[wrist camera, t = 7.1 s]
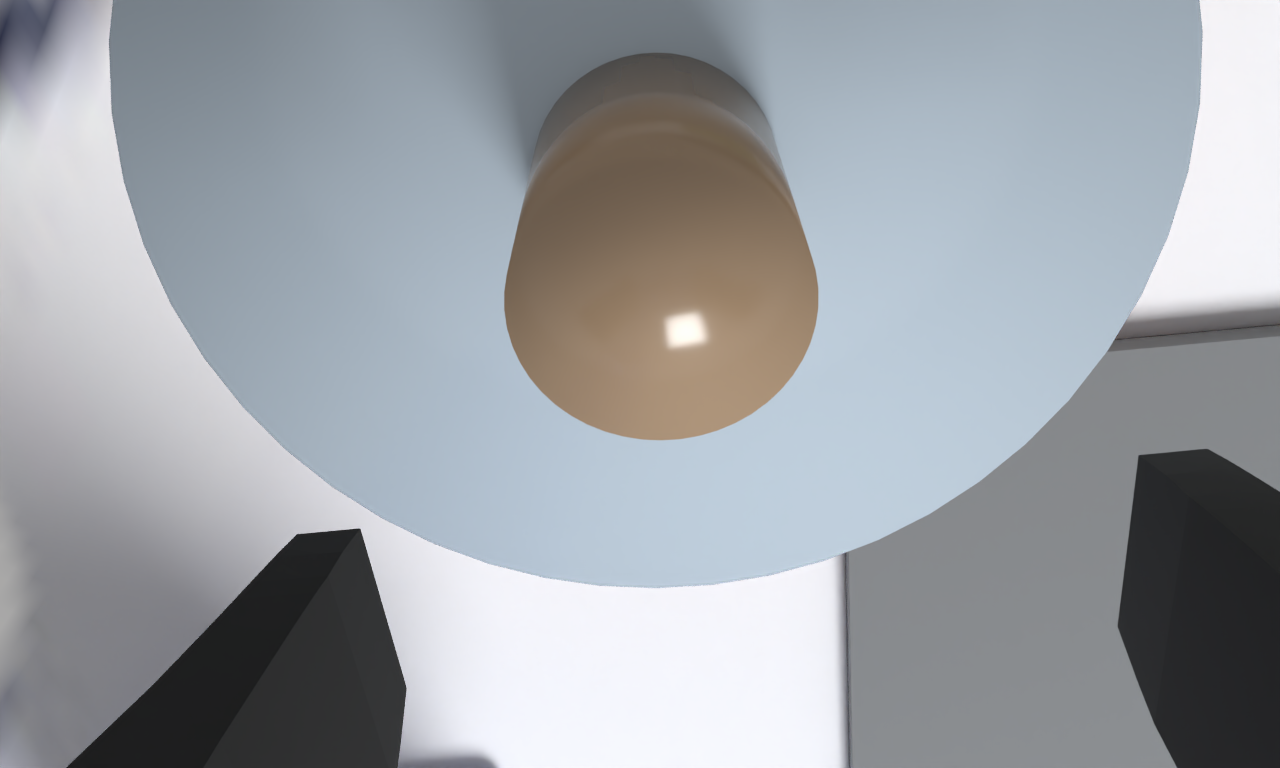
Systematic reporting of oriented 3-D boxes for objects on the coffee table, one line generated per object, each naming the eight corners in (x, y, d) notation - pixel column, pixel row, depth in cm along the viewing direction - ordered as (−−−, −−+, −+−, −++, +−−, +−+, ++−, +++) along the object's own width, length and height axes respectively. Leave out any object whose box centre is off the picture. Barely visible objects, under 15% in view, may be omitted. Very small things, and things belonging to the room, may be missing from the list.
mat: (851, 857, 29) (854, 870, 28) (842, 364, 22) (846, 375, 21) (1436, 815, 28) (1445, 829, 28) (1622, 293, 21) (1638, 303, 21)
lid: (305, 596, 19) (220, 825, 15) (-49, -359, 12) (-362, -385, 8) (1133, 503, 18) (1270, 721, 14) (1234, -581, 11) (1539, -721, 7)
